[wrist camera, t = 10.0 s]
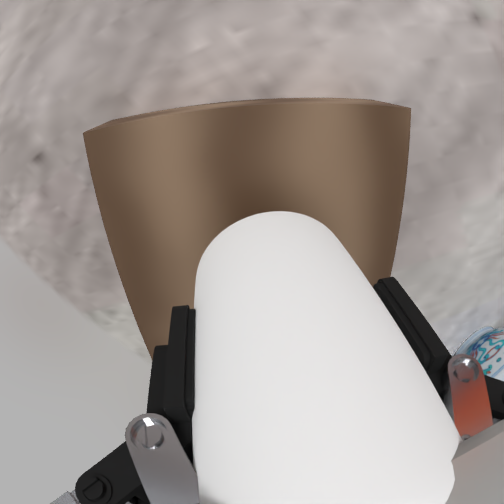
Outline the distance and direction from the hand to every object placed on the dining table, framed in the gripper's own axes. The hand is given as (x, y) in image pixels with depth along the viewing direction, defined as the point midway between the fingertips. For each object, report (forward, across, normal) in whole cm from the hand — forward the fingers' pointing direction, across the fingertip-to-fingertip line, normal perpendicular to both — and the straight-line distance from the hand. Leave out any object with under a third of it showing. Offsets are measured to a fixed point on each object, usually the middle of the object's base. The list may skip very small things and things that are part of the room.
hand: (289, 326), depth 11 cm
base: (+9, 0, 0) cm, 9 cm away
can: (+3, 0, 0) cm, 3 cm away
